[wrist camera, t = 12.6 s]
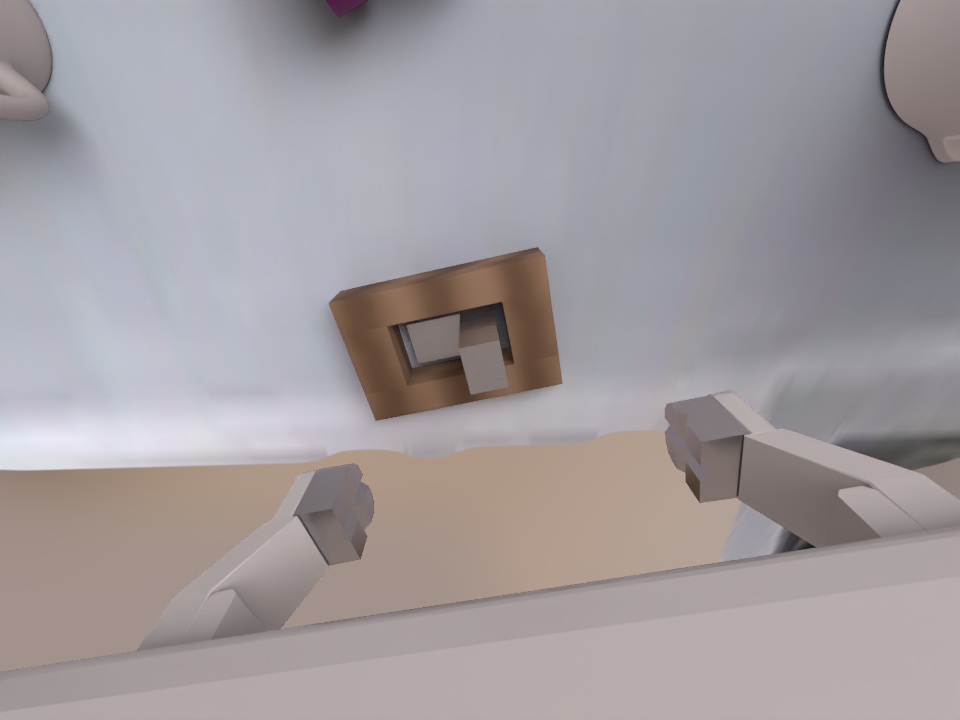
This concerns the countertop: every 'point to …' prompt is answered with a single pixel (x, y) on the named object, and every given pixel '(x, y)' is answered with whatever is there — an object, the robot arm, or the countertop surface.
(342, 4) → the mounting bracket
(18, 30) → the mug
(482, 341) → the angle bracket
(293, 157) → the countertop surface
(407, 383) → the well block
